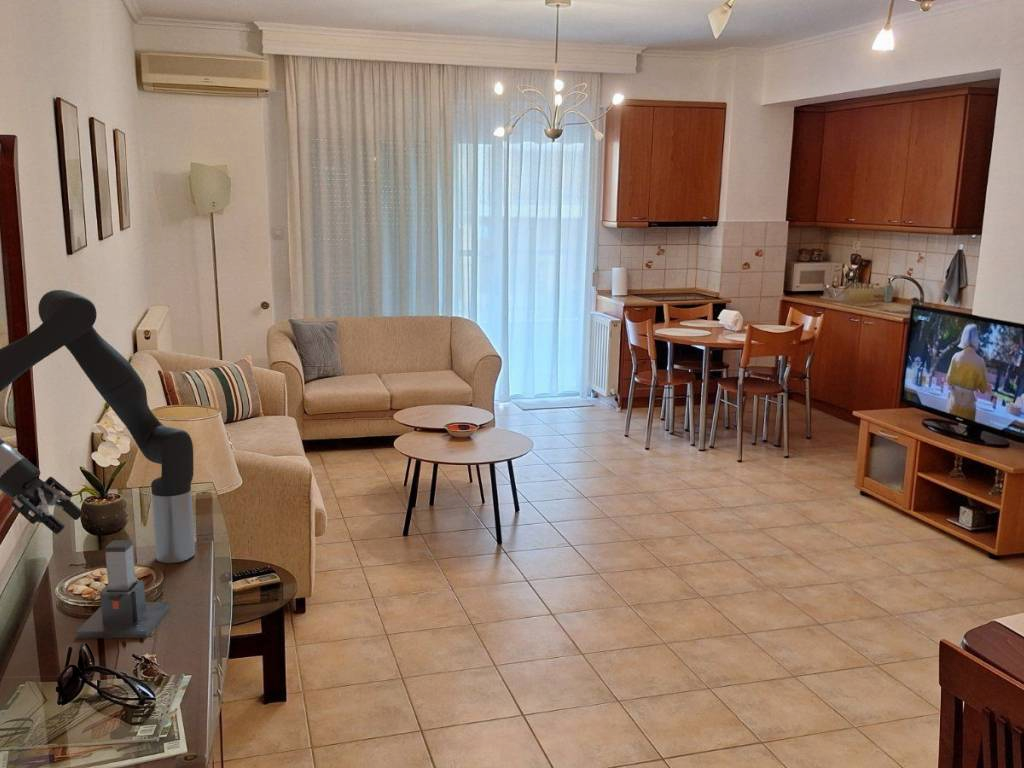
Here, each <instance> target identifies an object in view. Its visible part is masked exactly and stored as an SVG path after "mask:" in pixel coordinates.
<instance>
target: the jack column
mask: <svg viewBox="0 0 1024 768" xmlns="http://www.w3.org/2000/svg"><path fill="white" fill-rule="evenodd" d="M104 549H105V550H104V551H105V561H106V564H105V565H106V573H107V577H106V578H107V585H108V589H109V592H130V591H131V590H132V588H133V587H134V586H135V585H136V582H135V580H136V572H135V559H134V545H133V540H132V539H130V540H122V539H121V540H116V539H115V540H112V541H110V542H109V543H108V544H107V545H106V546H105V547H104Z"/></svg>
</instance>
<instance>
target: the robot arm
mask: <svg viewBox="0 0 1024 768" xmlns="http://www.w3.org/2000/svg"><path fill="white" fill-rule="evenodd" d="M37 307H38V309H37V310H38V315H39V318H40V321H41V322H42V323H41V324H40V325H39V326H38V327H36V328H35V329H34V330H32V331H31V332H29V333H27V334H26V335H25V336H23V337H21V338H20V339H18V340H15V341H13V342H12V343H9V344H7V345H5V346H3V347H1V348H0V393H1V392H2V391H4V390H5V389H6V388H7V387H8V386H10V385H11V384H12V383H13V382H15V381H16V380H17V379H18V378H19V377H21V376H22V375H23V374H24V373H25V372H27V371H28V370H30V369H31V368H33V366H36V365H37V364H38V363H39V362H41V361H42V360H44V359H45V358H47V357H49V356H50V355H51V354H53V353H56V351H58V350H60V349H61V348H62V347H65V348H66V349H67V350H68V351H69V353H70V354H71V355H72V356H73V358H74V360H75V361H76V362H77V364H78V365H79V367H80V369H82V371H83V373H84V374H85V376H86V377H87V378H88V379H89V381H90V383H92V385H93V386H94V388H95V389H96V391H97V392H98V394H100V396H101V397H102V398H103V400H104V401H105V402H106V404H107V405H108V406H109V407H110V408H111V409H112V410H113V412H114V413H115V415H116V417H118V418H119V420H120V421H121V422H122V423H123V425H124V426H125V427H126V429H127V430H128V432H129V433H130V435H131V436H132V437H131V438H132V439H133V441H134V442H135V444H136V445H137V447H138V448H139V450H140V453H142V455H143V456H144V457H145V458H146V459H147V460H148V461H149V462H152V463H155V464H158V465H161V475H160V477H157V478H154V479H153V480H152V481H151V483H150V484H151V485H150V489H151V502H152V519H153V528H154V531H153V532H154V545H155V546H154V547H155V558H156V561H157V562H159V563H163V564H176V563H181V562H185V560H186V561H188V559H189V558H191V557H192V556H194V554H195V555H196V547H195V530H194V516H193V515H194V514H193V500H192V499H193V498H192V481H193V477H194V445H193V440H192V437H191V435H190V433H188V432H187V431H186V430H183V429H180V428H175V427H169V426H165V425H164V424H162V422H160V421H159V420H158V418H157V417H156V416H155V414H154V413H153V412H152V410H151V409H150V406H149V404H148V397H147V395H148V394H147V389H146V386H145V383H144V381H143V380H142V378H141V377H140V375H139V373H137V371H136V370H135V369H134V367H133V366H132V365H131V363H130V362H129V361H128V360H127V359H126V358H125V357H124V356H123V354H121V353H120V352H119V351H118V350H117V349H116V348H114V347H113V345H111V344H110V343H108V341H106V340H105V339H104V338H103V337H102V335H100V334H99V333H98V332H97V330H96V329H95V328H94V325H95V323H96V320H97V314H98V313H97V309H96V307H95V304H94V302H92V301H91V300H90V299H89V298H87V297H85V296H84V295H81V294H78V293H75V292H72V291H69V290H64V289H52V290H49V291H48V292H46V293H44V294H43V295H42V297H40V300H39V302H38V306H37ZM40 476H41V470H40V469H39V468H38V467H36V465H34V464H33V463H32V462H31V461H29V460H28V459H27V458H26V457H25V456H24V455H23V454H21V453H20V452H19V451H18V450H17V449H15V448H14V447H12V446H11V445H9V444H8V443H7V442H5V440H3V439H2V438H1V437H0V491H1V492H3V493H4V494H5V496H6V497H9V498H10V499H14V500H13V501H12V502H11V503H10V504H11V506H12V508H14V509H15V510H16V511H17V512H18V513H20V515H22V517H24V518H25V519H26V520H27V521H28V522H29V523H31V524H34V525H35V524H36V523H39V524H43V525H44V526H46V527H47V528H48V529H49V531H51V532H53V533H54V534H55V535H58V534H60V533H61V532H62V531H63V530H64V529H65V525H64V524H63V523H62V522H61V521H60V520H59V519H57V517H55V516H54V515H53V514H51V513H50V511H49V509H48V506H51V507H53V506H55V507H58V508H61V509H62V510H63V511H64V512H65V513H66V514H67V515H68V516H70V517H71V518H72V519H73V520H75V521H77V520H79V519H80V518H81V517H82V516H83V514H84V512H83V510H81V509H80V508H79V507H78V506H77V505H76V504H75V503H74V502H72V499H71V498H72V497H73V493H72V492H71V491H70V490H69V489H68V488H66V487H65V486H64V485H63V484H61V483H60V482H59V481H58V480H56V479H55V478H54V477H53V476H49V477H48V478H47V479H45V480H44V481H43V479H41V478H40ZM29 512H30V513H29ZM32 515H33V516H32ZM194 557H195V556H194ZM191 559H192V558H191ZM189 560H190V559H189Z"/></svg>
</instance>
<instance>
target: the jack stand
mask: <svg viewBox="0 0 1024 768" xmlns="http://www.w3.org/2000/svg"><path fill="white" fill-rule="evenodd" d="M135 582H136V585H135V586H134V587H133V588H132V590H131V591H130V592H109V589H108V584H107V585H106V586H105V587H104V588H102V590H100V591H99V594H100V597H99V598H100V607H98V609H96V610H95V612H94V613H93V614H92V615H91V616H90V617H89V618H88V619H87V620H86V621H85V622H84V623H83V624H82V625H81V626H80V627H79V628H78V629H77V630H76V631H75V632H76V635H75V636H76V639H77V640H78V639H146V638H148V636H149V635H150V634H151V633H152V632H153V630H154V629H155V628H156V627H157V626H158V624H159V623H160V622H161V620H162V619H163V618H164V617H165V616H166V615H167V613H168V612H169V610H171V604H170V601H152V602H151V601H146V592H145V591H146V590H145V582H144V580H143V579H135Z"/></svg>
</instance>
